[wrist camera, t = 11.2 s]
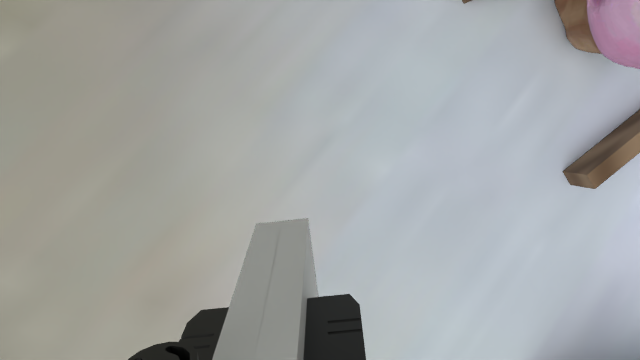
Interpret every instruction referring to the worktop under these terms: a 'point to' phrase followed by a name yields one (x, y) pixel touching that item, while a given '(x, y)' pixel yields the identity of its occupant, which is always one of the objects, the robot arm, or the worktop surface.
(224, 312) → the robot arm
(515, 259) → the worktop surface
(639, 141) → the wooden flag stand
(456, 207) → the worktop surface
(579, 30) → the cupcake
